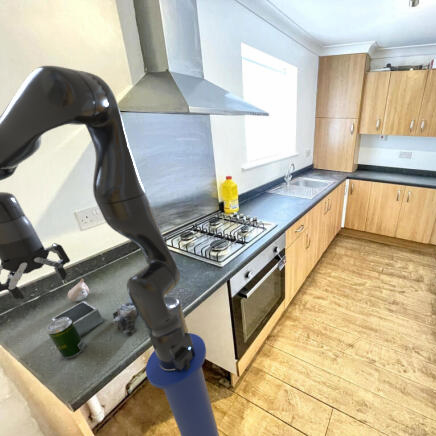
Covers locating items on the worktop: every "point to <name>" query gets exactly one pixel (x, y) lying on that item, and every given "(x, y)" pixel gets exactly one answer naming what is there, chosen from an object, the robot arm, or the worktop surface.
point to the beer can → (65, 337)
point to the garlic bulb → (78, 291)
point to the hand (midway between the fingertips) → (43, 287)
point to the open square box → (82, 317)
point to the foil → (125, 317)
